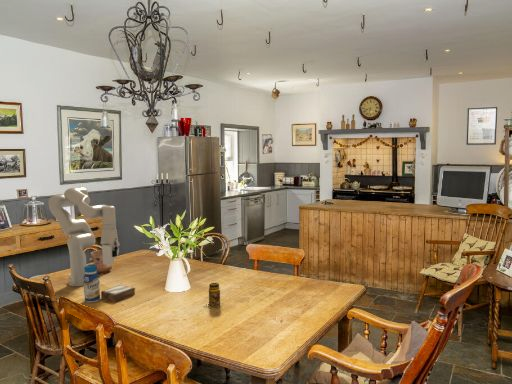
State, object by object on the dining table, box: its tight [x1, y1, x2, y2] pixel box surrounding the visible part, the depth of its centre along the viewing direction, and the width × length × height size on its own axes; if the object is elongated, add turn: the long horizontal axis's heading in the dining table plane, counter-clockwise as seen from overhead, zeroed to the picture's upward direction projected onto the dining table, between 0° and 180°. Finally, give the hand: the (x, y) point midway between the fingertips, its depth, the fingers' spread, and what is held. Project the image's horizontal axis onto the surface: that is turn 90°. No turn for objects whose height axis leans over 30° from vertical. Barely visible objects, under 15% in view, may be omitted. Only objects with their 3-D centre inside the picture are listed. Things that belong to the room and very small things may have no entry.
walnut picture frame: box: [100, 284, 136, 303], centre depth 248 cm, size 12×14×4 cm
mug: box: [101, 244, 120, 265], centre depth 257 cm, size 10×7×12 cm, turn 133°
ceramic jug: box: [88, 249, 113, 274], centre depth 300 cm, size 18×14×14 cm
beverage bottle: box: [83, 263, 101, 303], centre depth 241 cm, size 8×8×20 cm
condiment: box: [203, 282, 223, 309], centre depth 231 cm, size 7×8×12 cm
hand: (110, 255), depth 257 cm, fingers closed on mug, 6 cm apart
